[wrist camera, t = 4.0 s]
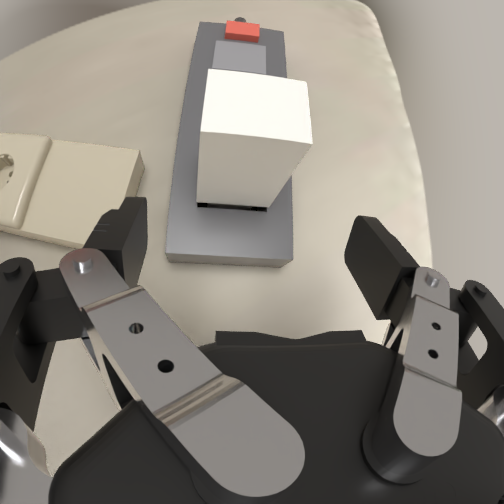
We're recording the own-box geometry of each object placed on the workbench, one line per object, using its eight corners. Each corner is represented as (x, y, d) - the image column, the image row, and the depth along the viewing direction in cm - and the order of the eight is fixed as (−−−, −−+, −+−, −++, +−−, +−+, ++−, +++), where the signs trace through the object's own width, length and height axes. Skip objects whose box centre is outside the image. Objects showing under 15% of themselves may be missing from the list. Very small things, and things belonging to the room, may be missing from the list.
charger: (195, 219, 23) (200, 131, 12) (199, 174, 24) (208, 68, 13) (258, 223, 24) (312, 144, 13) (258, 179, 24) (306, 81, 13)
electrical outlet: (106, 246, 18) (-68, 206, 15) (120, 259, 22) (-43, 220, 19) (137, 143, 20) (-37, 129, 17) (145, 170, 23) (-17, 150, 21)
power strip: (168, 261, 22) (164, 250, 18) (202, 22, 27) (205, -4, 24) (280, 267, 23) (297, 257, 20) (275, 30, 29) (283, 5, 25)
